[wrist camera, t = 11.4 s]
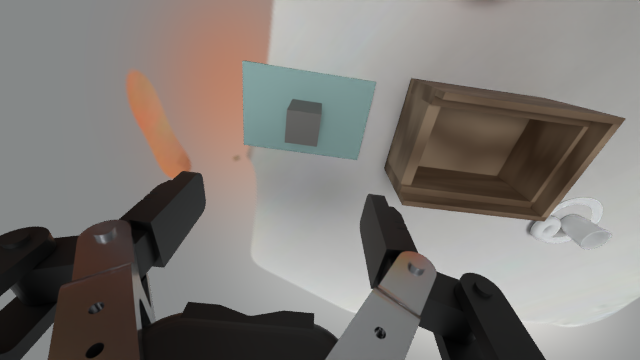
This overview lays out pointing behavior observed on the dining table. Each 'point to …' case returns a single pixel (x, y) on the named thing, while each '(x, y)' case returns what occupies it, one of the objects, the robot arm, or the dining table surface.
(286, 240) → the dining table surface
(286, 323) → the robot arm
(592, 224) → the teacup and saucer
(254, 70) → the cover plate
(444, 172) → the box
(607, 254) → the dining table surface
